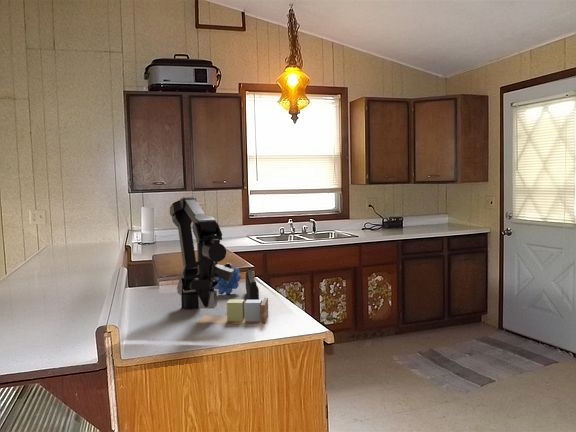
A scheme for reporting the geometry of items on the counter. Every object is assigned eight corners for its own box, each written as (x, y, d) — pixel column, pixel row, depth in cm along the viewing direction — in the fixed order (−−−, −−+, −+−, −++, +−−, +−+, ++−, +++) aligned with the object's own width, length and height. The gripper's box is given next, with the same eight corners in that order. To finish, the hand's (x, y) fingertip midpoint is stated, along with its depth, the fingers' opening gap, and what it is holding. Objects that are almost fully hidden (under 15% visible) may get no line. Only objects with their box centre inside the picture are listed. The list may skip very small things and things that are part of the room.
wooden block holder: (196, 326, 149) (195, 304, 148) (203, 318, 158) (202, 297, 157) (264, 326, 147) (264, 304, 146) (268, 318, 156) (268, 297, 155)
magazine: (259, 288, 160) (253, 251, 188) (249, 289, 159) (245, 251, 187) (259, 331, 166) (253, 288, 194) (250, 331, 166) (245, 289, 193)
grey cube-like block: (198, 308, 151) (198, 293, 150) (202, 305, 154) (201, 290, 154) (214, 308, 150) (213, 293, 150) (216, 305, 154) (216, 290, 154)
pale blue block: (245, 321, 150) (244, 302, 149) (247, 317, 154) (246, 299, 153) (260, 321, 149) (260, 302, 149) (262, 317, 153) (261, 299, 153)
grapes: (238, 290, 197) (237, 262, 196) (243, 293, 190) (242, 264, 190) (211, 293, 192) (210, 264, 191) (215, 297, 186) (214, 267, 185)
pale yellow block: (227, 321, 150) (226, 302, 150) (229, 317, 154) (229, 299, 154) (242, 321, 150) (242, 302, 149) (244, 317, 154) (244, 299, 153)
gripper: (224, 262, 141) (226, 313, 142) (236, 252, 160) (237, 297, 161) (188, 262, 142) (190, 313, 143) (204, 253, 161) (205, 297, 162)
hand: (207, 305), depth 152 cm, fingers closed on grey cube-like block, 4 cm apart
